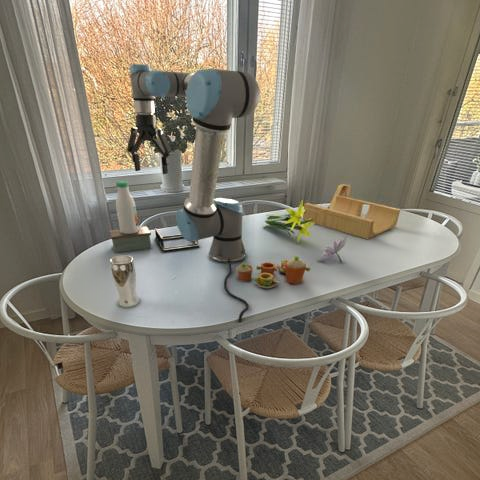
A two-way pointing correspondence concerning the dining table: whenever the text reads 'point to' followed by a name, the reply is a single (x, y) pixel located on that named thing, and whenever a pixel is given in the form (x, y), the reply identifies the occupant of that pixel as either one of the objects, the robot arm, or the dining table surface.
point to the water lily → (337, 247)
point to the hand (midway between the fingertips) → (151, 172)
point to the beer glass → (125, 279)
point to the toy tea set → (289, 267)
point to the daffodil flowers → (290, 221)
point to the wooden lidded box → (131, 240)
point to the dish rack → (170, 237)
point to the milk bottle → (126, 209)
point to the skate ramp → (352, 215)
